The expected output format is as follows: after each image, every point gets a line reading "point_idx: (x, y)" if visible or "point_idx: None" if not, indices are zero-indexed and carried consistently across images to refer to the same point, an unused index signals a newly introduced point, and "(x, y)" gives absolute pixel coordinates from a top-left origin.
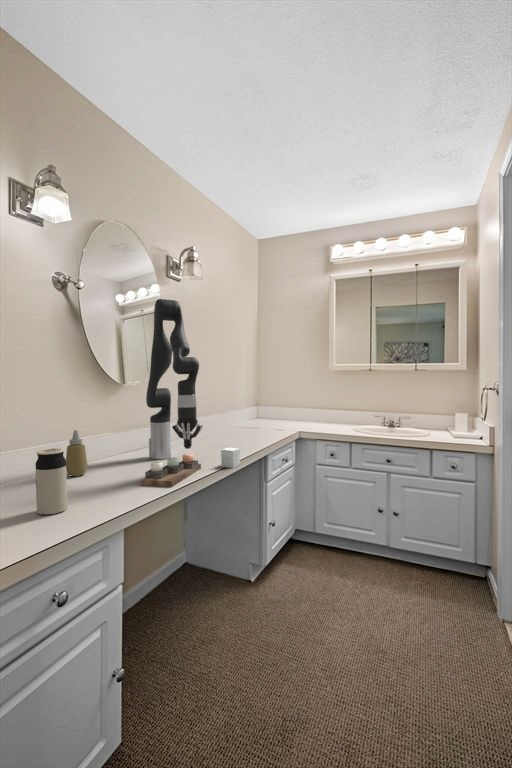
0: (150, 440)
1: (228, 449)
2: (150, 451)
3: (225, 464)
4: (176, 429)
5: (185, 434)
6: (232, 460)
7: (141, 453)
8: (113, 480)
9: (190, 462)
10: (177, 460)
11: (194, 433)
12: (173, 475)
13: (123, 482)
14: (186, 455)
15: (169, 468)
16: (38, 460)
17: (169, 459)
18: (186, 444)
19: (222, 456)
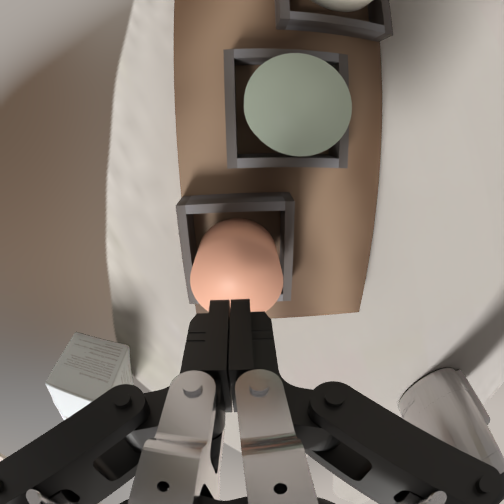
0: (484, 416)
1: (80, 407)
2: (468, 387)
3: (105, 347)
4: (431, 476)
5: (243, 435)
6: (65, 352)
7: None
8: (494, 41)
9: (204, 234)
10: (245, 91)
11: (80, 435)
12: (225, 10)
13: (450, 3)
14: (238, 262)
15: (288, 50)
16: None
17: (320, 73)
18: (232, 324)
19: (108, 377)
